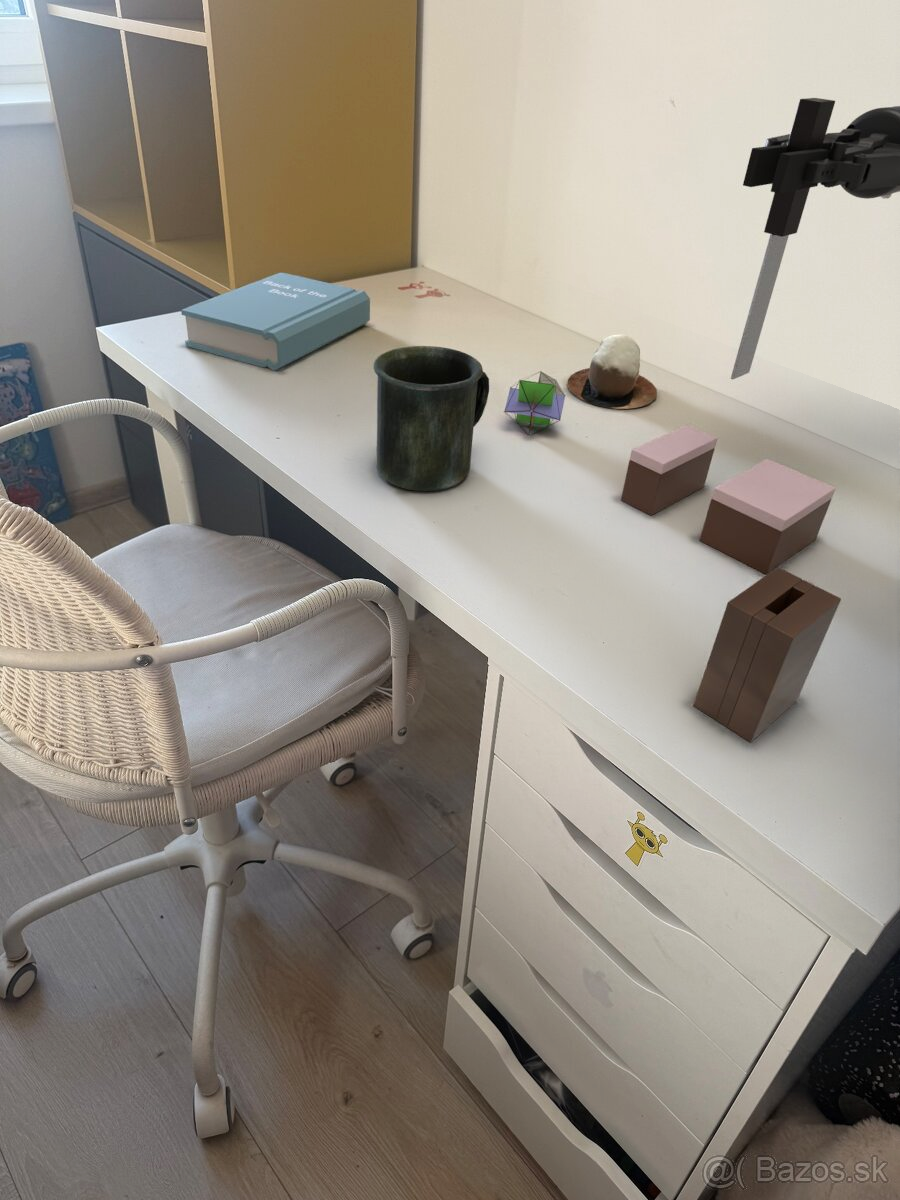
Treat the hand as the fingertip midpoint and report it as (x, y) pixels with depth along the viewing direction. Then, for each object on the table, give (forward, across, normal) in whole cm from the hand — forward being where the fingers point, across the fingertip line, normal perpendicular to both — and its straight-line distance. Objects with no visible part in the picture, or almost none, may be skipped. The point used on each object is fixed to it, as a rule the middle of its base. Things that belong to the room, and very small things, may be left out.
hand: (765, 170), depth 66 cm
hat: (-22, +25, -33) cm, 47 cm away
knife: (-6, 0, -18) cm, 19 cm away
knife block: (+18, -19, -33) cm, 42 cm away
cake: (-4, -8, -33) cm, 34 cm away
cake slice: (-4, +4, -33) cm, 33 cm away
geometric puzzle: (-4, +24, -33) cm, 41 cm away
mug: (+12, +24, -33) cm, 42 cm away
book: (+2, +67, -33) cm, 74 cm away
